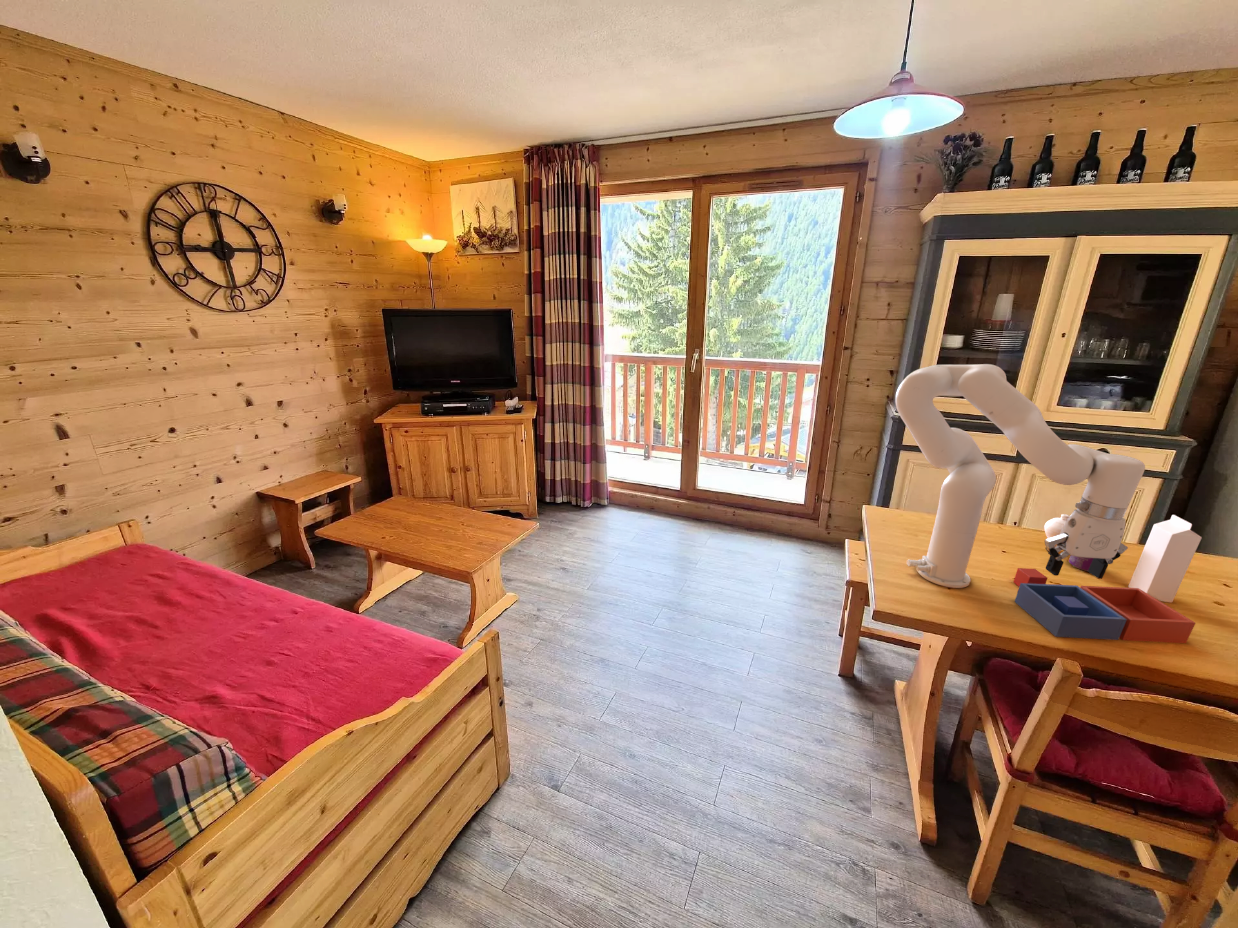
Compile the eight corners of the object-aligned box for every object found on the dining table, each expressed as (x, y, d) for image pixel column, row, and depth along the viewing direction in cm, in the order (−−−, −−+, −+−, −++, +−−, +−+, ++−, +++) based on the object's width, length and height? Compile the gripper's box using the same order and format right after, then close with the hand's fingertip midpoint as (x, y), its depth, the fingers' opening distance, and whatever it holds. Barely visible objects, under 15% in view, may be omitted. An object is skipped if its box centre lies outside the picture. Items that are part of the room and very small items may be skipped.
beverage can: (1107, 575, 136) (1122, 537, 132) (1078, 572, 138) (1092, 534, 134) (1089, 562, 143) (1103, 526, 139) (1062, 559, 144) (1074, 523, 140)
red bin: (1122, 640, 110) (1131, 619, 109) (1073, 604, 123) (1080, 585, 121) (1186, 643, 110) (1195, 622, 108) (1130, 606, 122) (1138, 587, 121)
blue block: (1063, 622, 115) (1069, 606, 113) (1048, 611, 119) (1054, 595, 118) (1083, 623, 115) (1089, 607, 113) (1067, 612, 119) (1073, 596, 117)
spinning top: (1032, 547, 151) (1043, 512, 147) (1045, 542, 155) (1057, 508, 151) (1061, 558, 145) (1074, 522, 141) (1075, 553, 148) (1088, 517, 144)
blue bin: (1055, 636, 111) (1063, 616, 109) (1014, 601, 124) (1020, 582, 122) (1118, 639, 110) (1127, 619, 109) (1070, 604, 123) (1077, 585, 121)
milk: (1144, 599, 126) (1176, 523, 118) (1127, 586, 131) (1157, 512, 124) (1173, 602, 124) (1207, 525, 117) (1154, 589, 130) (1186, 515, 122)
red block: (1025, 591, 128) (1029, 577, 127) (1013, 582, 133) (1017, 567, 131) (1042, 592, 128) (1047, 577, 127) (1030, 582, 132) (1035, 568, 131)
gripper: (1074, 513, 105) (1046, 580, 111) (1158, 519, 104) (1125, 585, 110) (1048, 499, 112) (1023, 562, 118) (1126, 504, 111) (1097, 567, 117)
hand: (1072, 573), depth 114 cm, fingers open, 9 cm apart
